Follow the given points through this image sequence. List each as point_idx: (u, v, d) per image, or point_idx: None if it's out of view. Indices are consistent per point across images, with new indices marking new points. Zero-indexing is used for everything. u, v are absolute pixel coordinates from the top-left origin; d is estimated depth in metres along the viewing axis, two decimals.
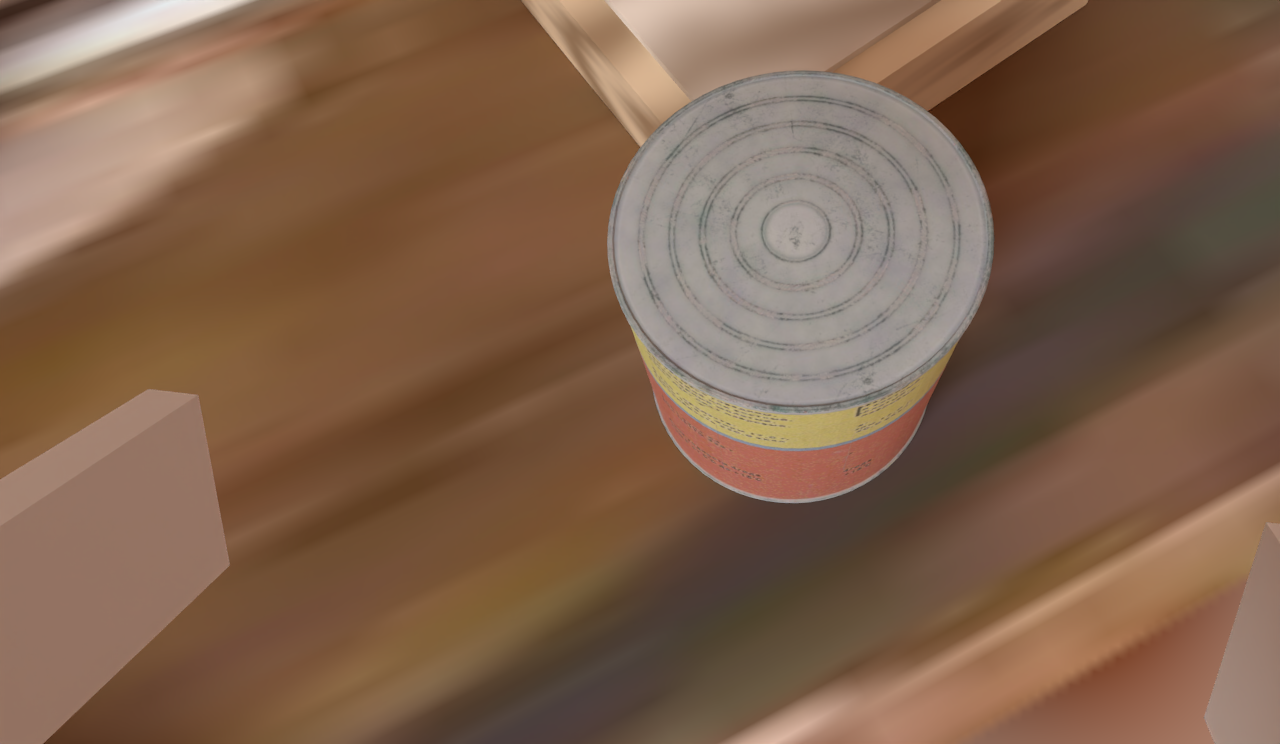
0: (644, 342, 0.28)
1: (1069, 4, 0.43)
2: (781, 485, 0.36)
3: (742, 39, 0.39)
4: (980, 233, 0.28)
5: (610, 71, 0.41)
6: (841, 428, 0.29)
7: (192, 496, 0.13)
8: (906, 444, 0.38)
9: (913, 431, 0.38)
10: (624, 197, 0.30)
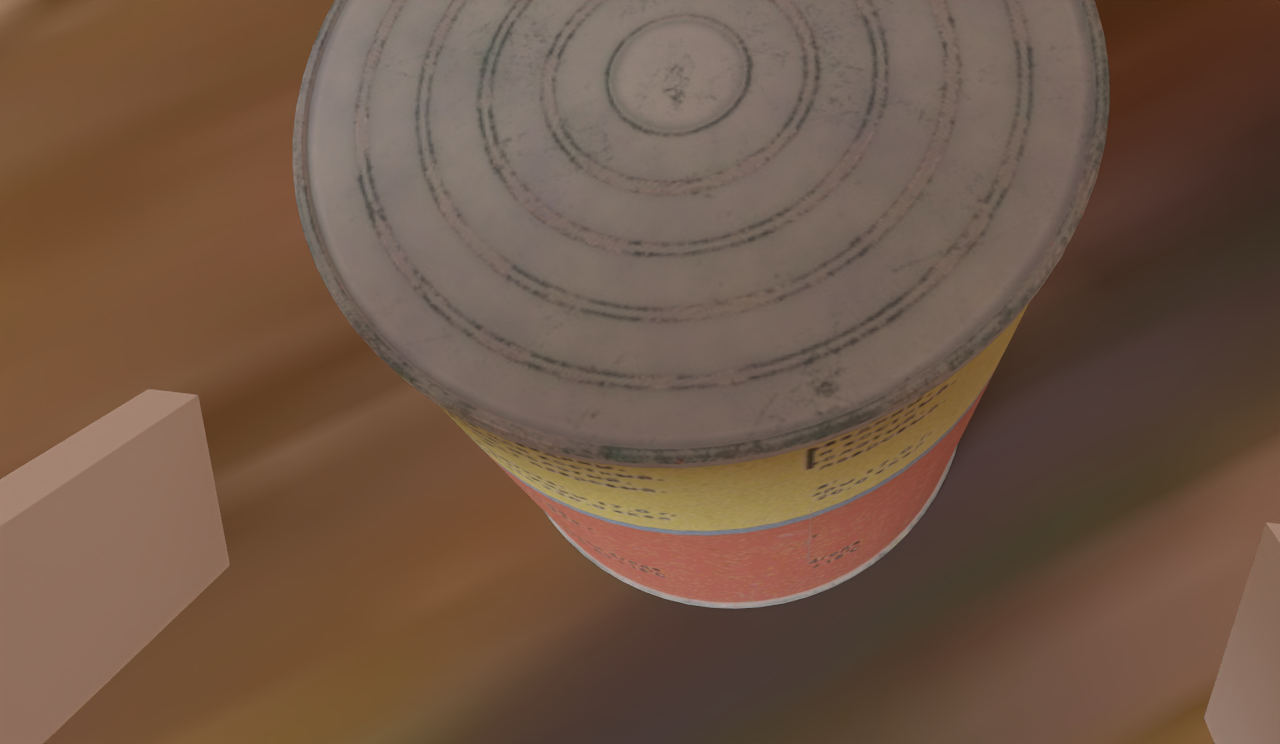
0: (342, 309, 0.13)
1: None
2: (702, 585, 0.20)
3: None
4: (1077, 63, 0.13)
5: None
6: (781, 493, 0.14)
7: (192, 496, 0.13)
8: (924, 508, 0.23)
9: (936, 485, 0.23)
10: (340, 25, 0.15)
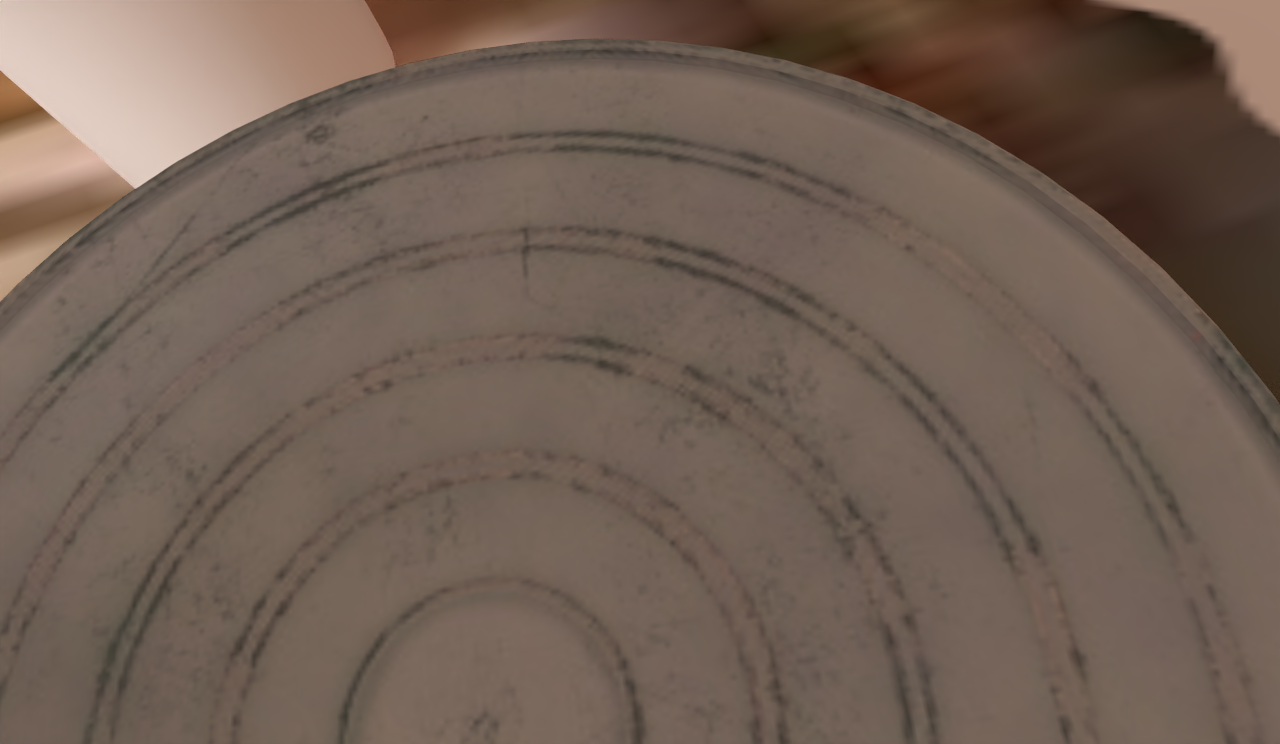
0: None
1: None
2: None
3: None
4: None
5: None
6: None
7: None
8: None
9: None
10: None
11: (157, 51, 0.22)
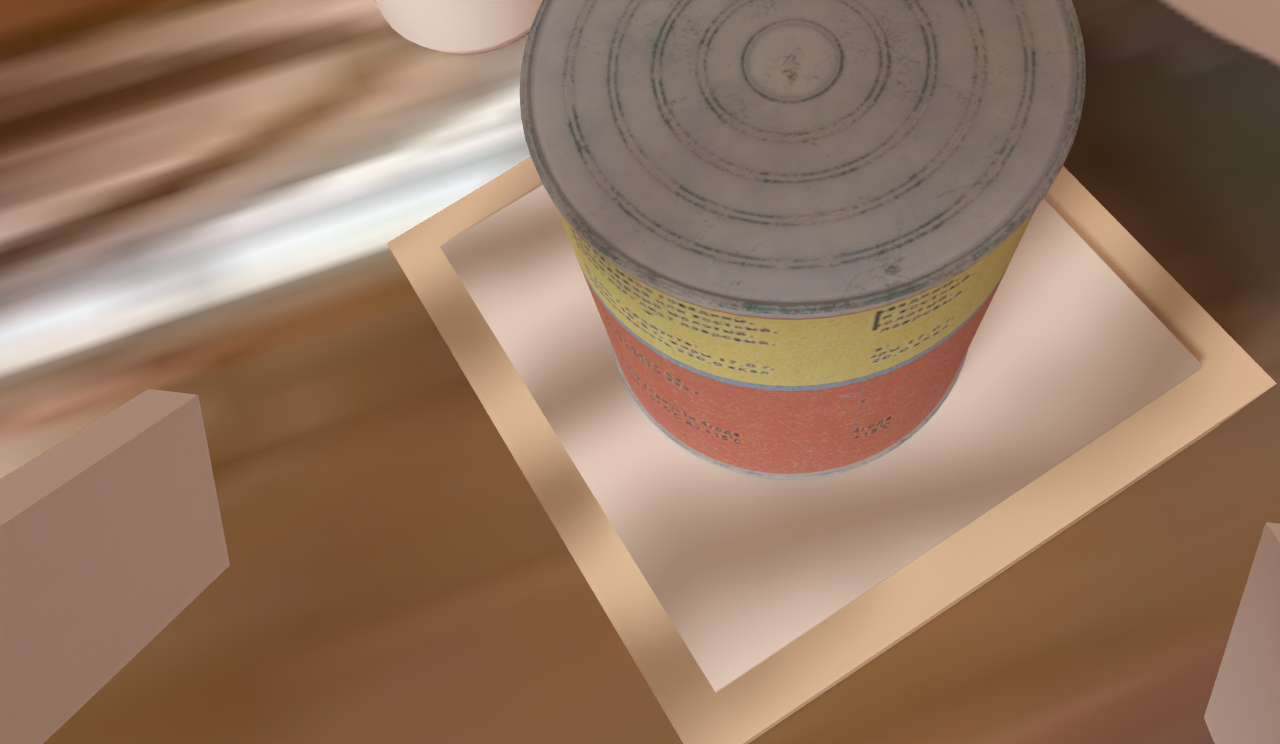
0: (563, 211, 0.19)
1: (1187, 446, 0.32)
2: (768, 450, 0.27)
3: (744, 532, 0.29)
4: (1065, 63, 0.19)
5: None
6: (850, 351, 0.20)
7: (192, 496, 0.13)
8: (937, 406, 0.29)
9: (947, 389, 0.29)
10: (548, 17, 0.21)
11: None
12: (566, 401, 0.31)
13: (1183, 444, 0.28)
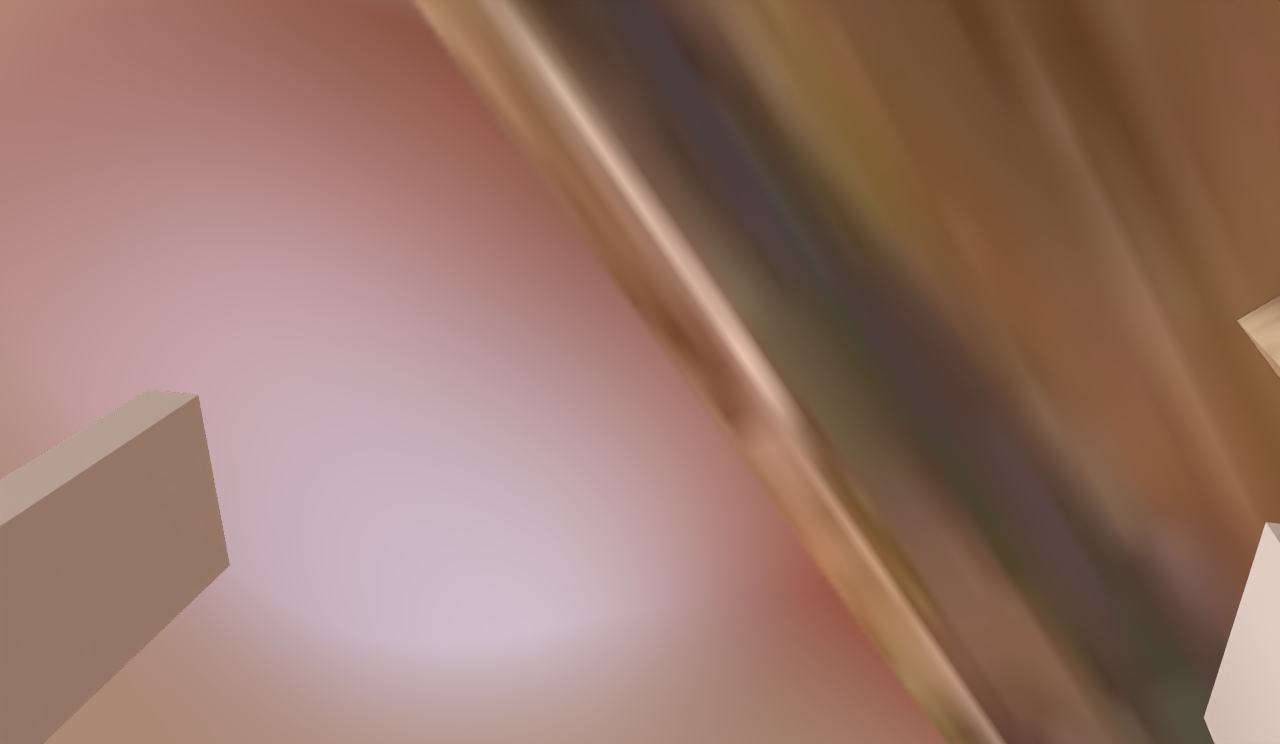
0: None
1: None
2: None
3: None
4: None
5: None
6: None
7: (192, 496, 0.13)
8: None
9: None
10: None
11: None
12: None
13: None
